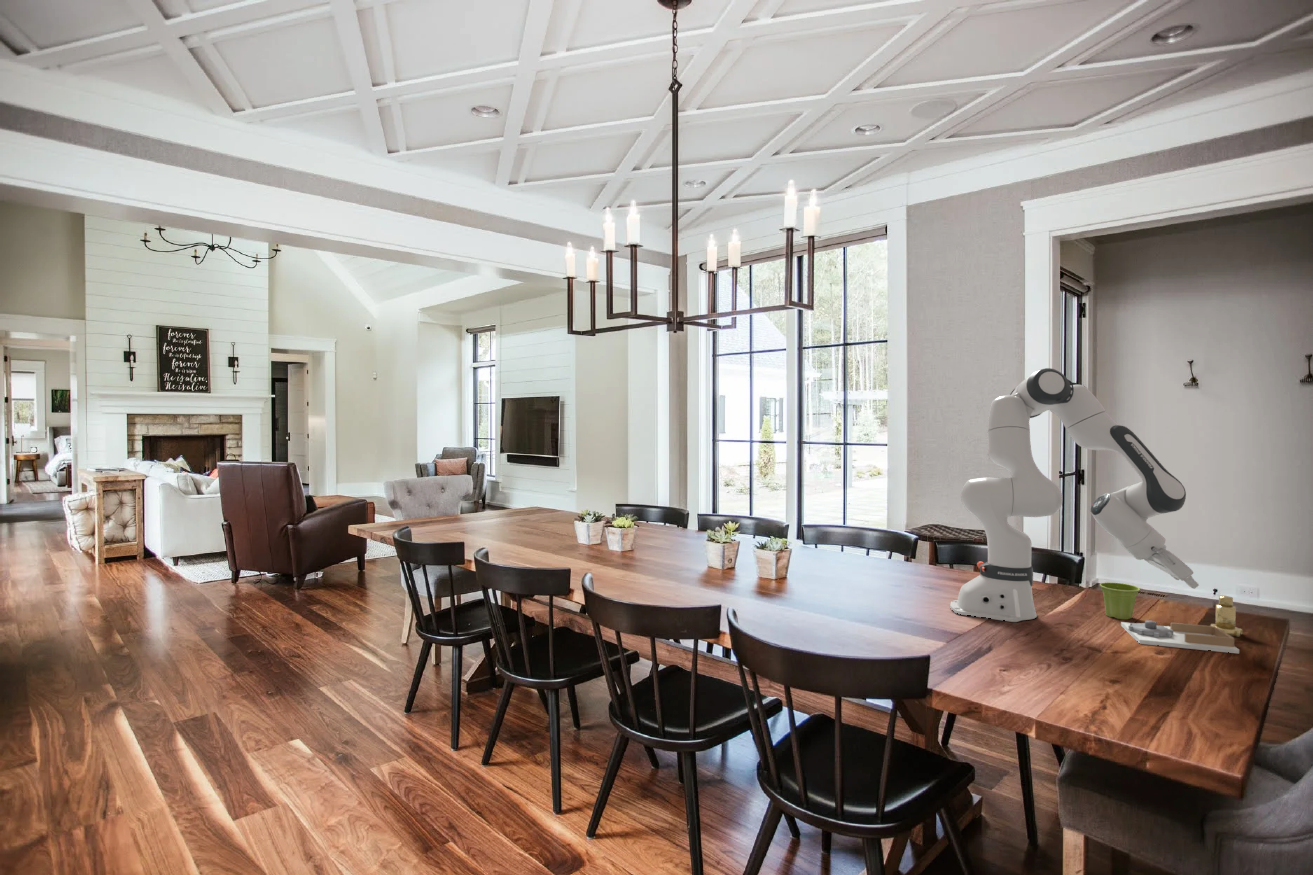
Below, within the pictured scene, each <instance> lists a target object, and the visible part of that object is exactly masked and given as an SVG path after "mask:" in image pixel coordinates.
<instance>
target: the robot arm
mask: <svg viewBox="0 0 1313 875" xmlns="http://www.w3.org/2000/svg"><path fill="white" fill-rule="evenodd" d="M988 411H989V412H988V418H987V455H988V458H989V459H990V461H991V462H993V464H995V465H996V466H998V467H1001V468H1004V469H1005V470H1007V471H1008V473H1009V474H1010V475H1011V477H989V476H987V477H986V476H985V477H976V478H971V479H968V480H967V481H966V482H965V483H964V485H963V486H962V488H961V490H960V499H961V500H960V501H961V502H962V505H963V507H964V508H965V509H966V510H967V511H968V512H969V513H970V514H971V515H973V516H974V517H975V518H976V519H977V520H978V521H979V523H980V524H981V526H982V528H983V529H984V532H985V536H986V542H987V543H986V544H987V561H986V562H983V561H978V562H977V563H976V566H977V568H978V569H979V575H978V576H975V577H974V578H972V579H970V580H969V581H967V582H965V583H964V584H962V586H961V587H960V589H959V592H958V597H957V599H954V600H952V601H950V603H949V604H950V605H949V608H951V609H950V610H951V611H952V610H953V611H954V612H953V611H952V612H953V613H954V614H957V613H958V614H957V615H960V614H961V615H962V616H967V615H971V616H970V617H974V616H976V617H975V618H981V617H986V618H985V619H988V618H991V619H990V620H996V621H1003V620H1005V622H1011V623H1017V622H1021V621H1026V620H1027V621H1028V620H1033V619H1035V618H1037V617H1038V616H1037V615H1038V614H1037V613H1036V612H1037V610H1036V608H1035V604H1034V599H1033V598H1034V597H1033V589H1032V586H1033V584H1034V567H1033V566H1032V540H1031V538H1030V537H1029V536H1030V535H1028V534H1026V532H1023V531H1022V530H1020V529H1019V528H1017V527H1014V526H1012V525H1011V524H1010V523H1009V522H1008V518H1010V517H1020V518H1021V517H1024V518H1025V517H1026V518H1043V517H1049V516H1054V515H1056V514H1057V512H1059V510H1060V509H1061V507H1062V504H1063V493H1062V491H1061V489H1060V487H1059V486H1058V485H1057V483H1055V481H1053V480H1051V479H1050V478H1048V476H1046V475H1045V474H1043V473H1042V472H1041V470H1040V469H1039V468H1038V466H1037V464H1036V463H1035V460H1034V457H1033V454H1032V444H1031V429H1030V428H1031V426H1030V419H1033V418H1036V417H1038V416H1041V415H1042V414H1043V413H1045V412H1047V411H1049V412H1052V413H1053V414H1055V415H1056V416H1057V417H1058V418H1059V419H1060V421H1061V423H1062V424H1063V426H1064V428H1065V430H1066V431H1067V433H1068V434H1069V436H1070V438H1071V439H1072V441H1074V443H1075V444H1076V445H1078V446H1079V447H1082V448H1083V449H1087V450H1092V451H1112V452H1114V453H1117V454H1119V455H1121V456H1122V457H1123V458H1124V459H1125V461H1127V462H1128V464H1129V465H1130V466H1131V468H1133V469H1134V471H1135V472H1136V473H1137V474H1138V476H1139V477H1140V478H1141V481H1140V482H1137V483H1134V484H1131V485H1128V486H1125V487H1123V488H1121V489H1119V490H1117V491H1114V492H1105V493H1103V494H1101V495H1099V496H1098V497H1097V498H1096V499H1095V500H1094V501H1093V502H1092V504H1091V506H1090V513H1091V516H1092V517H1093V518H1094V520H1095V521H1096V522H1097V524H1098V525H1099V526H1100V527H1101V528H1102V529H1103V530H1104V531H1105V532H1106V533H1107V534H1109V535H1110V536H1112V537H1113V538H1114V539H1116V540H1117V541H1118V542H1119V544H1120V545H1121V546H1122V547H1123V548H1124V549H1125V550H1126V551H1127V552H1128V553H1129V554H1130V555H1131V556H1133V558H1135V559H1136V560H1139V561H1141V560H1144V561H1146V562H1147V563H1148V564H1149V565H1151V566H1153V567H1154V568H1157V569H1159V570H1160V571H1163V572H1164V573H1167V574H1168V575H1170V576H1171V577H1172V578H1173V579H1175V580H1176V581H1179V580H1180V581H1182V582H1184V583H1185V584H1186V585H1187V586H1188V587H1190V588H1191V589H1196V588H1198V587H1199V586H1200V585H1199V583H1198V582H1197V581H1196V580H1195V579H1194V578H1193V574H1194V571H1193V570H1192V568H1191V567H1190V566H1188V564H1186V563H1185V562H1184V561H1183V560H1181V559H1180V558H1179V557H1178V556H1177V555H1175V554H1174V553H1172V552H1171V551H1169V550H1167V546H1166V538H1165V537H1164V536H1163V535H1162V534H1161V533H1159V532H1158V530H1156V529H1155V528H1154V527H1153V526H1152V525H1151V524H1150V523H1148V522H1147V520H1148V519H1149V518H1152V517H1155V516H1159V515H1162V514H1167V513H1168V514H1169V513H1172V512H1173V513H1174V512H1177V511H1179V510H1181V509H1182V507H1183V506H1184V505H1185V502H1186V497H1187V492H1186V488H1185V486H1184V485H1183V484H1182V482H1181V481H1180V480H1179V479H1178V478H1176V477H1175V476H1174V475H1173V474H1171V472H1169V471H1168V470H1167V469H1166V468H1165V466H1163V464H1162V463H1161V461H1159V460H1158V459H1157V458H1156V456H1155V455H1154V454H1153V452H1151V451H1150V449H1149V448H1148V447H1147V446H1146V445H1145V444H1144V442H1143V441H1142V440H1141V439H1140V438H1139V436H1137V435H1136V434H1135V433H1134V432H1133V430H1131V429H1130V428H1128V427H1127V426H1125V425H1121V424H1119V423H1117V422H1116V421H1115V420H1114V419H1113V418H1112V417H1111V416H1110V415H1109V414H1108V412H1107V411H1106V409H1105V408H1104V405H1102V403H1101V402H1100V401H1099V399H1098V398H1097V397H1096V395H1094V394H1093V393H1092V392H1091V390H1089V388H1087V387H1086V386H1085V385H1082V384H1073V381H1071V380H1070V379H1068V377H1066V376H1065V375H1064V374H1063V373H1062V372H1061V371H1059V370H1056V369H1054V368H1050V367H1047V368H1042V369H1038V370H1036V371H1034V372H1032V373H1031V374H1030V375H1029V376H1027V377H1026V378H1024V379H1023V380H1021V381H1020V382H1019V384H1018V385H1017V386H1015V387H1014V389H1012V391H1011V392H1010V393H1009V394H1006V395H1005V394H1004V395H1002V396H998V397H996V398H994V399H993V400H992V401H991V404H990V406H989V410H988Z"/></svg>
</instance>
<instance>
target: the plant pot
mask: <svg viewBox="0 0 1313 875" xmlns="http://www.w3.org/2000/svg"><path fill="white" fill-rule="evenodd" d="M1099 587H1100V588H1101V592H1102V594H1103V603H1104V609H1105V610H1104V612H1105V615H1106V616H1107V617H1109V618H1115V619H1118V620H1130V619H1132V618H1133V615H1134V614H1133V613H1134V609H1135V603H1136V600H1137V599H1136V598H1137V596H1138V593H1139V591H1140V590H1141V587H1139V586H1136V585H1132V584H1129V583H1121V582H1101V583H1099Z"/></svg>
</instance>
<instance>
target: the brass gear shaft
mask: <svg viewBox="0 0 1313 875" xmlns="http://www.w3.org/2000/svg"><path fill="white" fill-rule="evenodd" d="M1233 601H1234V598H1233V597H1232V596H1229V595H1228V596H1227V595H1218V604H1215V623H1210V626H1215V627H1218V628H1220V629H1221V630H1223V631H1224V632H1226V633H1227V634H1229V635H1230V636H1232V637H1241V635H1243V628H1239V627H1237V626H1236V615H1237V614H1236V612H1237V610H1236V609H1237V607H1236V606H1234V602H1233Z"/></svg>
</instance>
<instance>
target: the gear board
mask: <svg viewBox="0 0 1313 875" xmlns="http://www.w3.org/2000/svg"><path fill="white" fill-rule="evenodd" d="M1120 626H1121V628H1123V629H1124V630H1125V631H1126V632H1127V633H1128V634H1129V635H1130V636H1131V637H1132V639H1134V640H1135V641H1136V642H1137V641H1138V642H1137V643H1138V644H1139V643H1140V645H1149V646H1157V645H1159V647H1168V648H1169V647H1170V648H1181V649H1191V650H1200V651H1208V650H1211V651H1210V652H1221V653H1228V652H1229V653H1231V654H1240V649H1239V648H1237V646H1235V637H1234V636H1230V635H1229V634H1227V633H1226V632H1224V631H1223V630H1221V629H1220V628H1218V627H1215V626H1211V625H1203V624H1191V623H1181V622H1170V626H1169V625H1158V623H1157V621H1155V620H1150V619H1146V620H1144V622H1141V623H1140V622H1136V623H1135V622H1125V621H1121V622H1120ZM1229 653H1228V654H1229Z"/></svg>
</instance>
